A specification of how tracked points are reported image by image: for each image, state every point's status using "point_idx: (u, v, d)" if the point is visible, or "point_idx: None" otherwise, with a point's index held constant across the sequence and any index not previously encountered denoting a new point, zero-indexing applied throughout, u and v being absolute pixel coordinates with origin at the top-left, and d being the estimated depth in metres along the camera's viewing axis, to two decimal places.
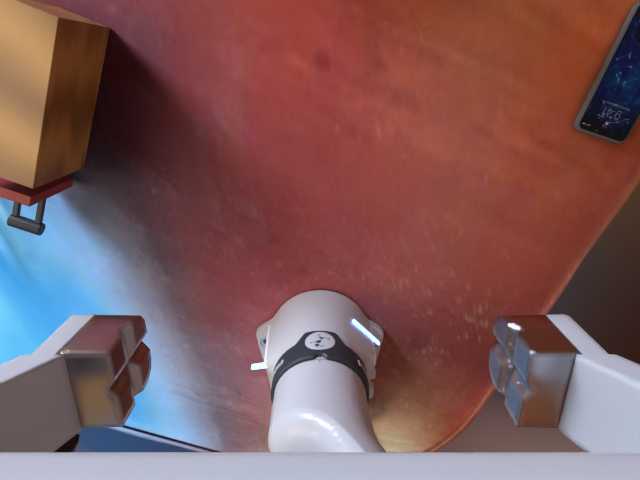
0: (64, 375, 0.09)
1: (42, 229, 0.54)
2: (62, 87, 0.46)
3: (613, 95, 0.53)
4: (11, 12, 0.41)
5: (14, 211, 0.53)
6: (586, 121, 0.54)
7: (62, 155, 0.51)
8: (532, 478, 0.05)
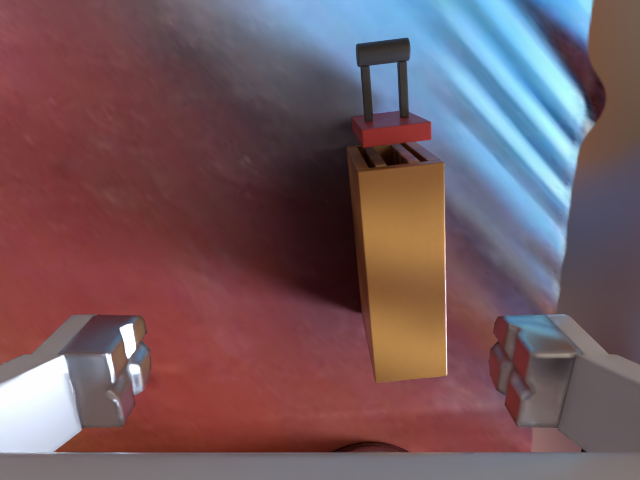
0: (65, 375, 0.09)
1: (356, 55, 0.32)
2: (365, 295, 0.36)
3: None
4: (426, 366, 0.35)
5: (403, 70, 0.32)
6: None
7: (354, 194, 0.35)
8: (532, 478, 0.05)
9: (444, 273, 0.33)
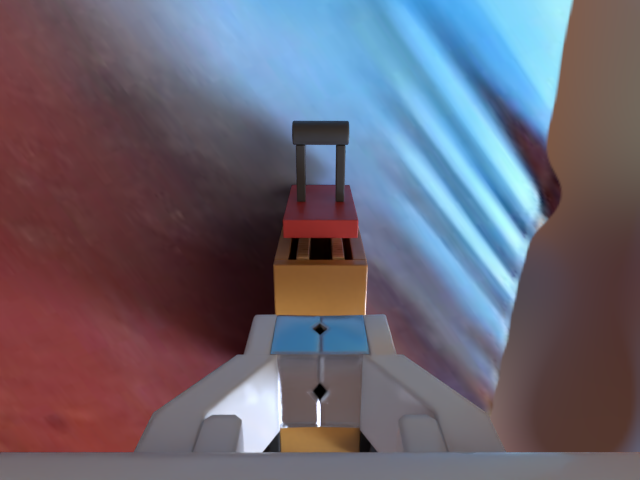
0: (271, 374, 0.09)
1: None
2: None
3: None
4: None
5: (341, 154, 0.30)
6: None
7: None
8: (531, 478, 0.05)
9: None
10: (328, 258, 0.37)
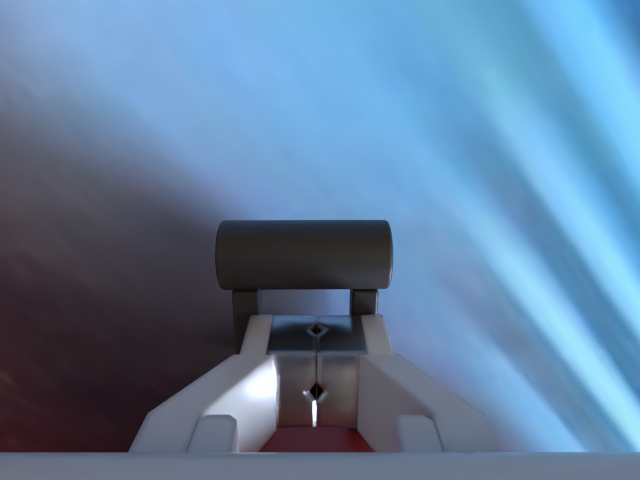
0: (267, 375, 0.09)
1: None
2: None
3: None
4: None
5: (366, 314, 0.10)
6: None
7: None
8: (531, 478, 0.05)
9: None
10: None
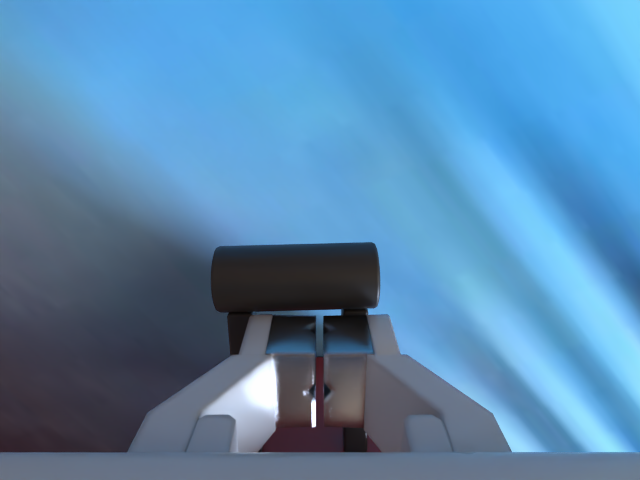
0: (267, 374, 0.09)
1: None
2: None
3: None
4: None
5: None
6: None
7: None
8: (531, 478, 0.05)
9: None
10: None
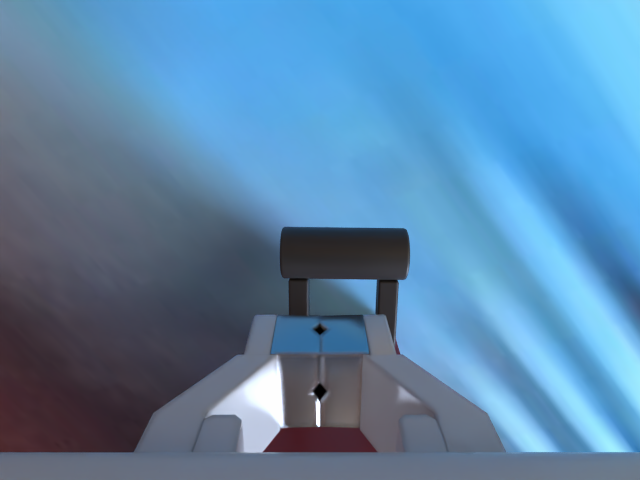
0: (271, 375, 0.09)
1: None
2: None
3: None
4: None
5: (389, 300, 0.13)
6: None
7: None
8: (531, 478, 0.05)
9: None
10: None
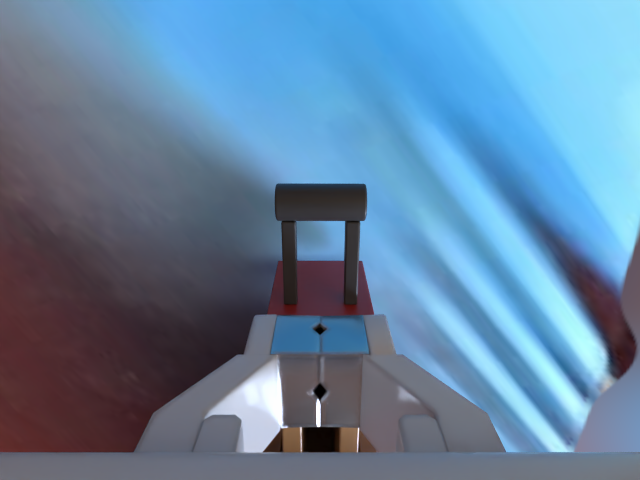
0: (271, 375, 0.09)
1: None
2: None
3: None
4: None
5: (353, 235, 0.19)
6: None
7: None
8: (531, 478, 0.05)
9: None
10: None
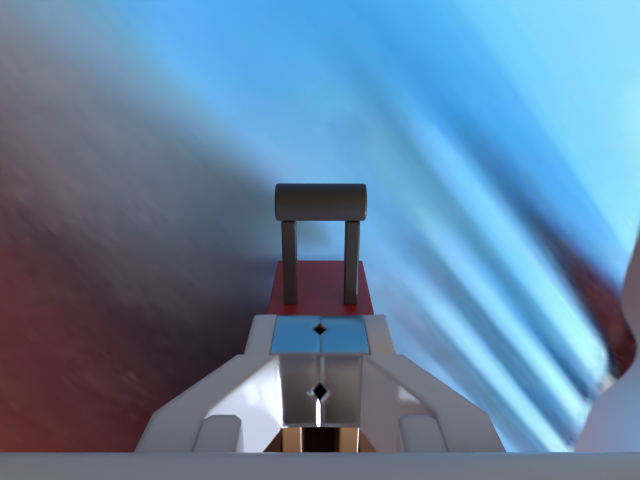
0: (271, 375, 0.09)
1: None
2: None
3: None
4: None
5: (353, 235, 0.19)
6: None
7: None
8: (532, 478, 0.05)
9: None
10: None
